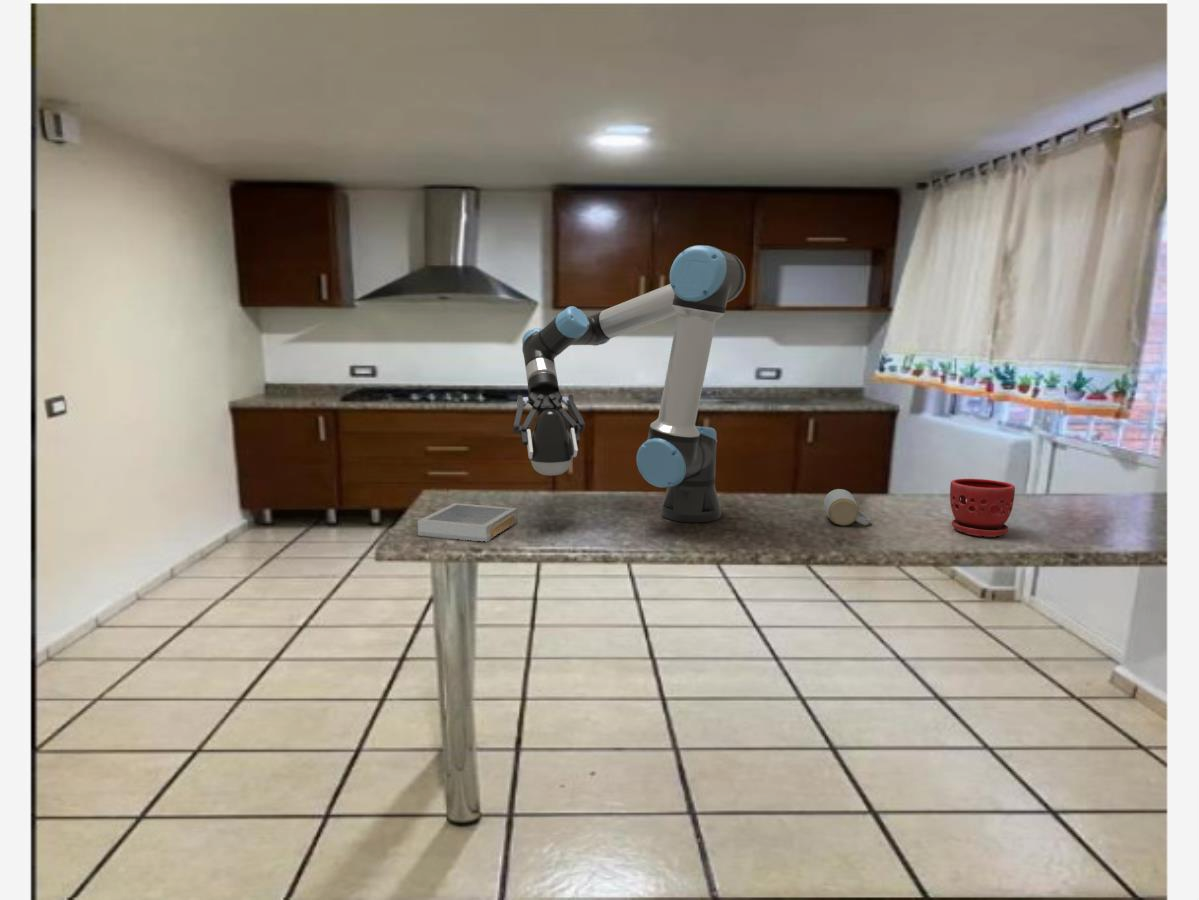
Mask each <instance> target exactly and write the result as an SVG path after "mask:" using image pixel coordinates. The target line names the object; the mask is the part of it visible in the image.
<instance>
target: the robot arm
mask: <svg viewBox="0 0 1199 900" xmlns="http://www.w3.org/2000/svg"><path fill="white" fill-rule="evenodd" d="M746 276H747V275H746V270H745V266H744V264H743V263H742V261H741V260H740V258H738V256H737V255H735V254H733V253H731V252H730V251H724V250H722V249H719V248H717V247H715V246H710V245H701V244H700V245H699V244H698V245H693V246H689V247H688V248H686V249H684V250H683V251H681V252H679V254H678V255H677V256H676V257H675V259H674V260H673V263H672V265H671V267H670V271H669V284H667V285H664V286H661V287H659V288H656V289H654V290H651V291H648V292H646V293H644V294H641V295H638V296H636V297H634V298H631V299H629V300H627V301H624V302H621V303H619V304H616V305H614V306H611V307H609V308H606V309H604V310H601V311H598V312H596V313H594V314H591V315H586V314H585V313H584V312H583V311H582V310H581V309H579V308H577V307H576V306H573V305H572V306H568V307H566V308H564V310H562V311H560V312H559V313H558V314H557V316H555V317H554V318H553V319H552V320H551V321H550V322H548V324H547V325H545V326H544V328H540V327H536V328H535V327H534V328H532V329H529V330H527V331H526V332H524V335H523V336H522V341H521V342H522V355H523V358H524V366H525V373H526V374H525V375H526V381H527V388H528V389H527V390H528V396H524V397H523V395H520V394H519V395H518V396H517V400H516V406H517V409H516V413H515V418H514V422H513V426H512V427H513V429H512V433H514V434H520V437H521V441H522V445H523V446H527V447H526V449H527V455H528V459H529V460H530V459H532V456H533V447H532V432H531V426H532V424H533V422H534V421H535V419H536V417H537V416H538V414H539V413H540V414H541V413H542V412H543V411H545V410H548V409H553V410H556V411H560V410H561V411H562V412H563V413H562V415H561V416H562V417H563V419H564V421H565V423H566V426H567V429H568V431H569V436H570V440H571V445H572V452H573V458H577V455H578V451H579V448H578V444H579V443H580V440H581V437H580V432H584V430H585V427H586V423H585V421H584V417H582V414H581V413H580V411H579V409H578V407H577V406H576V403H575V402H574V395H573V394H568V396H563V395H562V394H561V393H560V387H559V383H558V376H557V371H556V369H557V368H556V363H555V358H556V357H558V356H559V355H561V354H562V352H564V351H565V350H566V349H568V348H569V347H570V346H593V347H594V346H600V345H604V344H607V343H608V342H609V341H610V340H611V339H613V338H616V337H618V336H621V335H625V334H626V333H629V332H633V331H635V330H639V329H641V328H643V327H646V326H650V325H652V324H655V323H657V322H658V323H659V321H663V320H666V319H668V318H672V317H674V316H676V323H675V327H674V332H673V337H672V338H673V339H672V344H671V347H670V353H669V357H668V358H669V359H668V364H667V371H666V374H665V380H664V385H663V391H662V397H661V402H660V407H659V412H658V417H657V418H656V420H654V421H653V422H651V423H650V425H649V431H648V434H647V435H648V436H647V439H646V440H645V441H644V442H643V443H642V444H641V445H640V446H639V448H638V450H637V452H636V465H637V469H638V472H639V474H640V475H641V476H642V478H643V479H644V480H645V481H646V482H647V483H648V484H650V485H652V486H654V487H656V488H666V492H665V494H664V497H663V499H662V502H661V505H660V506H661V507H660V516H662V517H663V518H666V519H667V520H671V521H676V522H682V523H694V524H695V523H696V524H697V523H709V522H715V521H717V520H718V519H721V516H722V507H721V503H720V499H719V496H718V493H717V490H716V467H717V466H716V464H717V463H716V461H717V447H718V446H717V444H718V440H717V431H716V429H715V428H713V427H709V426H699V425H698V426H697V425H696V422H697V417H698V411H699V407H700V402H701V396H702V393H703V392H702V391H703V387H704V382H705V378H706V377H705V376H706V372H707V366H708V362H709V356H710V352H711V346H712V341H713V339H714V338H713V337H714V332H715V327H716V324H717V323H716V322H717V321H718V320H719V319H720V318H722V317H723V316H724V315H725V313H726V310H727V304H728V303H729V302H731V301H733V300H734V299H736V298H737V297H738V296H739V295H740V293H741V292H742V291H743V289H744V287H745V283H746ZM562 403H563V404H564V405H565V407H567V409H568V412H569V413H568V412H567V411H566V409H565V408H564V407H563V405H562ZM527 404H529V405H530V406H531V407H532V408H531V410H530V411H529V413H528V415H527V416H526V418H525V420H524V422H523V423H522V425H521V420H522V416H523V411H524V407H526V406H527ZM569 414H570V415H569Z"/></svg>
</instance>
